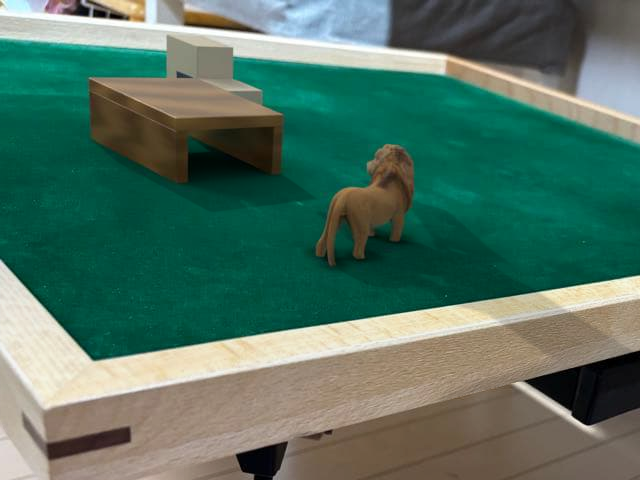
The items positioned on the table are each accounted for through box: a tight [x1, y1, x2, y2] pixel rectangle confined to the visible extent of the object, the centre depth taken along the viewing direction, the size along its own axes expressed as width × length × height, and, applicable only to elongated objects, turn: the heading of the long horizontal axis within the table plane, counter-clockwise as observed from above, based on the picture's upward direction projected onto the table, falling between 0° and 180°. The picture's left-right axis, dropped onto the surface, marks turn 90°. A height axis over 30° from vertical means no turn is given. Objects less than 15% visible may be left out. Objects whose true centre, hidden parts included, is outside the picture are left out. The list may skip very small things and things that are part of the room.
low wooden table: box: [87, 77, 285, 184], centre depth 89 cm, size 15×12×7 cm
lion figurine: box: [315, 143, 415, 267], centre depth 76 cm, size 15×5×9 cm, turn 169°
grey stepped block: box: [166, 33, 264, 106], centre depth 111 cm, size 13×6×8 cm, turn 52°
